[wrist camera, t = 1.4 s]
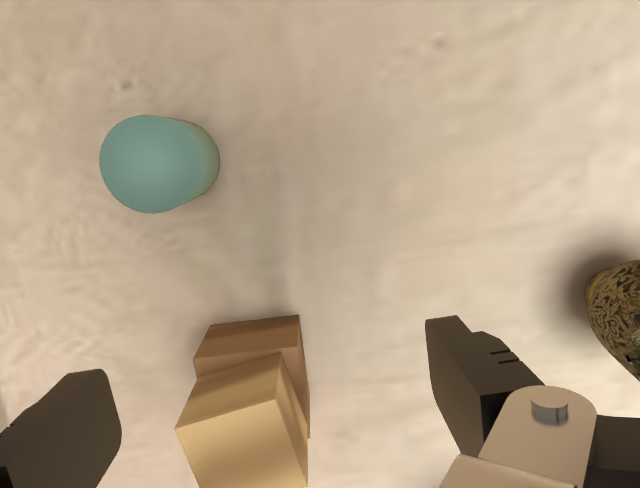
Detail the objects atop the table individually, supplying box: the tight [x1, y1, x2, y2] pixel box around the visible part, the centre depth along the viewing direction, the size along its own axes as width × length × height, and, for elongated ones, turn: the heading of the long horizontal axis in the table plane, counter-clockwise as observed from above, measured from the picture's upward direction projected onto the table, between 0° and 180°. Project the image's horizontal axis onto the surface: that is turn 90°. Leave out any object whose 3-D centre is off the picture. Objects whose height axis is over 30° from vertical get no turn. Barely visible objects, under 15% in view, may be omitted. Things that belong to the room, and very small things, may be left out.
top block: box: [175, 352, 308, 488], centre depth 25 cm, size 5×5×5 cm
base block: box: [193, 315, 310, 439], centre depth 29 cm, size 6×6×5 cm
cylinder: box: [100, 115, 220, 213], centre depth 26 cm, size 5×5×6 cm
